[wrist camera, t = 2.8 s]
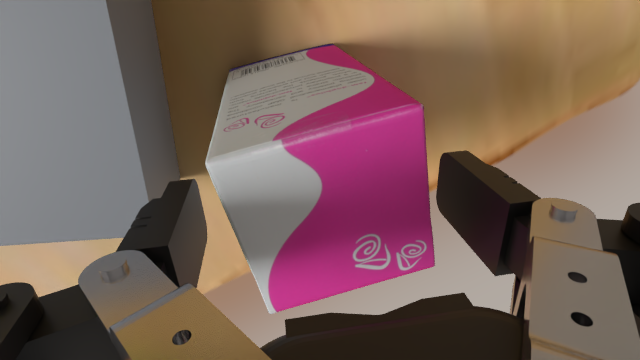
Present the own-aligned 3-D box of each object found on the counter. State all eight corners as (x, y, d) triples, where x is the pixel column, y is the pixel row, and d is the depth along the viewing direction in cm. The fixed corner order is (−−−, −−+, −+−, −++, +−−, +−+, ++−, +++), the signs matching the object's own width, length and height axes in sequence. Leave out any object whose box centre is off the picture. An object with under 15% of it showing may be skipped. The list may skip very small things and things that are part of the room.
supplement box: (260, 169, 22) (262, 322, 11) (227, 67, 19) (191, 151, 9) (355, 144, 22) (441, 273, 12) (336, 40, 19) (427, 90, 9)
